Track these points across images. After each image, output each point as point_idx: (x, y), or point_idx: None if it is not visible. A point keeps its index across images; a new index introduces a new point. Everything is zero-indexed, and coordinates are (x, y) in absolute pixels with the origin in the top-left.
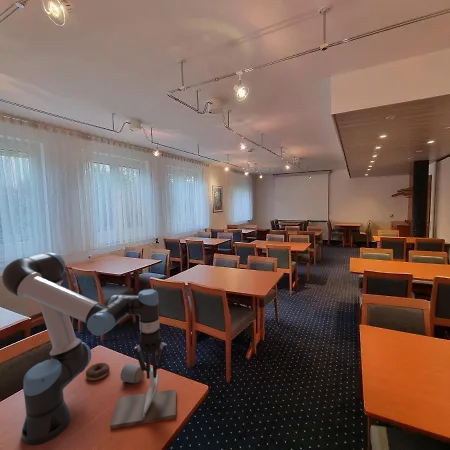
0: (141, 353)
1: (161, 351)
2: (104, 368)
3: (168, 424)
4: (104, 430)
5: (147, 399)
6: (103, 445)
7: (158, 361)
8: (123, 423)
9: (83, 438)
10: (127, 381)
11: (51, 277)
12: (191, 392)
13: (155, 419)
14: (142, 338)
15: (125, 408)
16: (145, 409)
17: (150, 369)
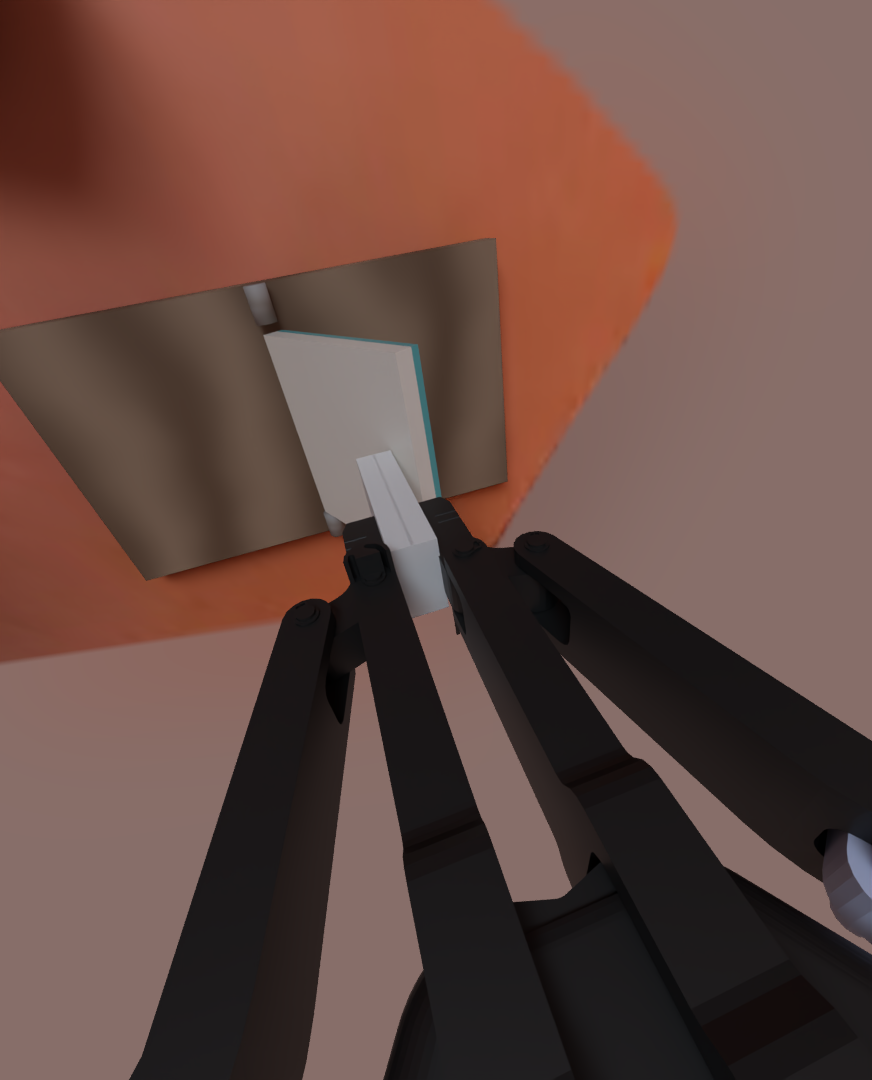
0: (274, 894)
1: (772, 834)
2: None
3: (466, 507)
4: (119, 576)
5: (328, 461)
6: (188, 635)
7: (549, 583)
8: (224, 558)
9: (30, 628)
10: None
11: None
12: (595, 248)
13: None
14: None
15: (152, 458)
16: (341, 520)
17: (404, 578)
